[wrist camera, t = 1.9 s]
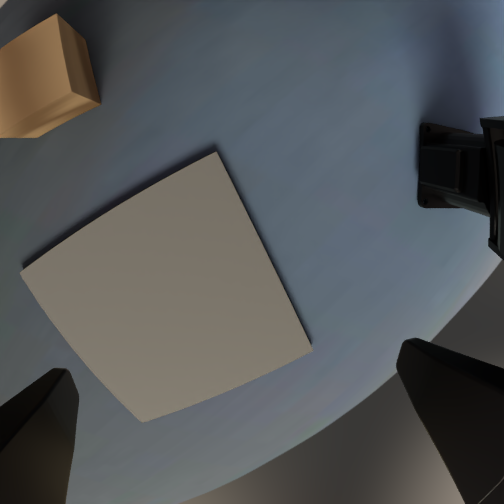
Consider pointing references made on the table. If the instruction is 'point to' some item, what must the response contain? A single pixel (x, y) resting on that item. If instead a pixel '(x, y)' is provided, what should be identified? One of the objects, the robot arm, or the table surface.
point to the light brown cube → (44, 80)
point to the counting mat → (170, 295)
